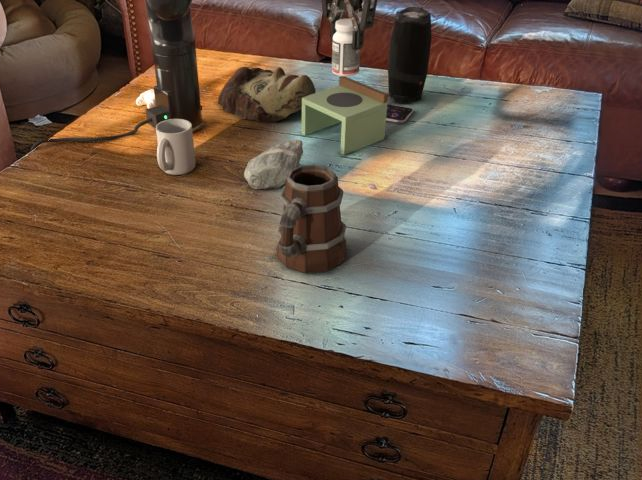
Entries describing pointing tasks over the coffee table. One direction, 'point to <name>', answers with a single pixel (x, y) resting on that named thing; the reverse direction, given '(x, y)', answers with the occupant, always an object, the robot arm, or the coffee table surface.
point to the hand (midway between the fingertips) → (346, 44)
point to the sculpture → (264, 94)
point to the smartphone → (398, 113)
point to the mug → (311, 220)
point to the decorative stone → (273, 165)
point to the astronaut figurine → (147, 99)
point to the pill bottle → (344, 50)
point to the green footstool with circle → (347, 113)
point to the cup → (175, 146)
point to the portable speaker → (409, 54)
